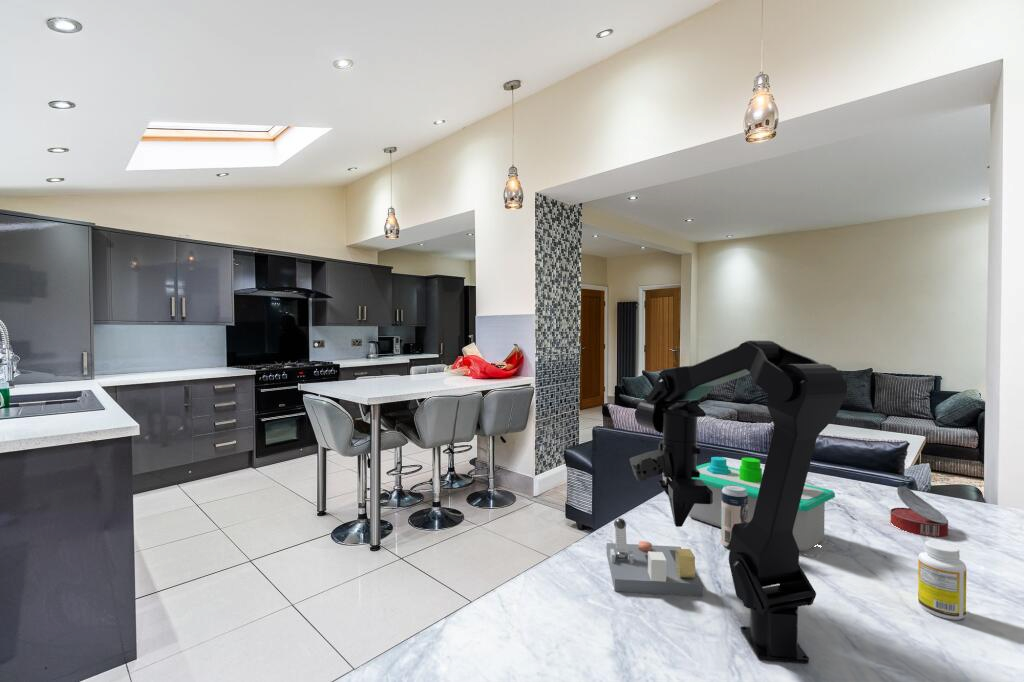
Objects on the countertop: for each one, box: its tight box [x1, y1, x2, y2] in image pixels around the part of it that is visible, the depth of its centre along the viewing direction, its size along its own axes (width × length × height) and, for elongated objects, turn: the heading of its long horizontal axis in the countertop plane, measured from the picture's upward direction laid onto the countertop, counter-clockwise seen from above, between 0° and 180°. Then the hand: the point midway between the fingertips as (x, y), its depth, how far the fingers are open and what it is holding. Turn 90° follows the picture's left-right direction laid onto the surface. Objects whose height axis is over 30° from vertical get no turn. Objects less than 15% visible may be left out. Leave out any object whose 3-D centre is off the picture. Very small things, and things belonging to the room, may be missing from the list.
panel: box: [606, 540, 703, 597], centre depth 85 cm, size 14×14×3 cm
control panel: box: [688, 456, 836, 558], centre depth 107 cm, size 15×16×30 cm
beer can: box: [720, 485, 748, 549], centre depth 96 cm, size 5×5×12 cm
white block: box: [648, 551, 666, 582], centre depth 79 cm, size 3×2×4 cm
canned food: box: [890, 485, 949, 538], centre depth 107 cm, size 11×10×10 cm
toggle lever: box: [613, 517, 628, 560], centre depth 87 cm, size 2×2×7 cm
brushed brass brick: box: [675, 548, 696, 578], centre depth 81 cm, size 3×2×4 cm
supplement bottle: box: [917, 540, 967, 621], centre depth 74 cm, size 6×6×10 cm
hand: (678, 525), depth 85 cm, fingers closed
